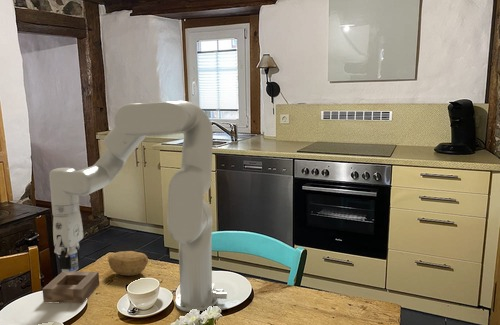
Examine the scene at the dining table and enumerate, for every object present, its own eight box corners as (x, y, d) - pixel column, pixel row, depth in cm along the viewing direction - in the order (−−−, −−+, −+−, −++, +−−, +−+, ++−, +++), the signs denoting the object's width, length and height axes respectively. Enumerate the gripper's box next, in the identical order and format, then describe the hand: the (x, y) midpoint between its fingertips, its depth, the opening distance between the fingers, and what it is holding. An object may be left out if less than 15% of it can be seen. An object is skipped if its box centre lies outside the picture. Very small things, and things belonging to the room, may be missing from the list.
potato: (118, 266, 145) (116, 245, 143) (153, 270, 142) (152, 249, 140) (102, 278, 135) (101, 256, 134) (139, 282, 132) (138, 260, 131)
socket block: (99, 284, 131) (98, 271, 130) (82, 303, 119) (81, 289, 118) (63, 284, 131) (62, 271, 131) (43, 302, 120) (42, 288, 119)
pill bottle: (72, 274, 121) (70, 248, 120) (58, 272, 122) (56, 246, 121) (81, 267, 126) (80, 242, 124) (68, 266, 127) (66, 241, 125)
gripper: (64, 217, 112) (68, 277, 115) (90, 201, 129) (93, 254, 132) (38, 216, 112) (43, 277, 115) (67, 201, 129) (71, 254, 132)
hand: (70, 264), depth 124 cm, fingers closed on pill bottle, 4 cm apart
